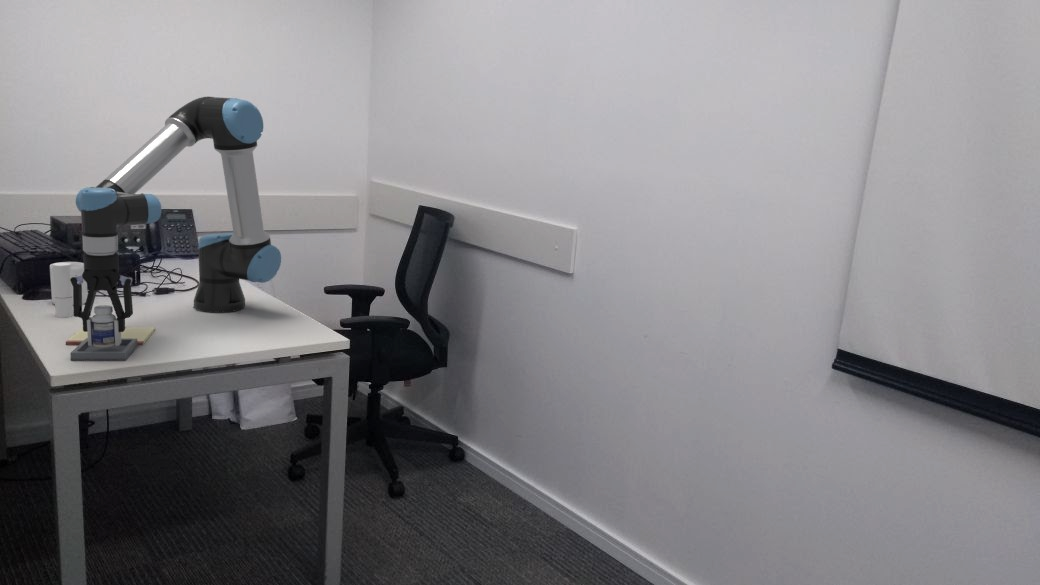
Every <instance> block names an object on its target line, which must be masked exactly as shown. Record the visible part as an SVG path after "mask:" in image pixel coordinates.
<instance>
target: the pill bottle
mask: <svg viewBox="0 0 1040 585" xmlns="http://www.w3.org/2000/svg"><path fill="white" fill-rule="evenodd" d="M93 307H94V308H93V310H94V311H93V312H94V315H92V316H91V317H92V320H91V321H92V338H93V345H94V346H95V347H101V348H103V347H104V348H105V347H112V346H114V345H115V329H114V320H115V319H116V318H117V316H116V314H113V312H114V311H113V309H114V307H113V305H110V304H109V305H107V304H104V305H103V304H102V305H97V306H93Z"/></svg>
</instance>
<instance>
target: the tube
mask: <svg viewBox="0 0 1040 585" xmlns="http://www.w3.org/2000/svg"><path fill="white" fill-rule="evenodd" d="M52 264H53V263H52ZM53 278H54V294H55V304H54V305H55V306H54V308H55V310H54V311H55V317H56V318H70V317H74V315H73V303H72V286H71V281H70V279H71V268H70V263H59V262H55V263H54V264H53Z"/></svg>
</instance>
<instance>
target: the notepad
mask: <svg viewBox="0 0 1040 585" xmlns="http://www.w3.org/2000/svg"><path fill="white" fill-rule="evenodd" d="M155 331H156V328H155V327H146V326H145V327H144V326H143V327H141V326H139V327H137V326H136V327H134V326H133V327H132V326H130V327H129V326H127V327H126V326H125V330H124V332H121V339H138V346H139V345H142V346H143V345H144V344H146V343H147V341H148V339H149V338H150V337H151V336H152V335H153V333H155ZM151 334H152V335H151ZM86 338H88V332H84V331H83V326H82V327H81V328H80V329H79V330H77V331H76V332H75V333H74V334H73V335H72V336H70V338H68V339H67V340H66V341H65V345H66V346H78V345H79V344H81V343H82V342H83V341H84V340H85V339H86ZM146 340H147V341H146Z"/></svg>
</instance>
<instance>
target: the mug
mask: <svg viewBox="0 0 1040 585" xmlns="http://www.w3.org/2000/svg"><path fill="white" fill-rule="evenodd" d="M58 263H70V268H71V278H72V277H74V276H76V275H77V276H79V275H82V274H83V272H84V262H81V261H62V262H58ZM53 264H54V263H51V264H50V265H49V276H50V277H49V278H50V289H51V291H50V292H51V302H52V304H53V305H55V294H54V278H53ZM71 286H72V283H71ZM87 296H88V284H87V282H86V281H85V280H84V279H83V283H82V305H85V303H86V299H87ZM72 303H73V286H72Z"/></svg>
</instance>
